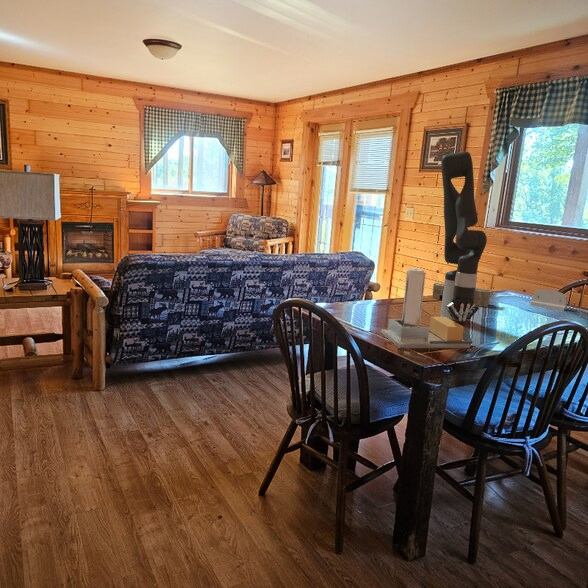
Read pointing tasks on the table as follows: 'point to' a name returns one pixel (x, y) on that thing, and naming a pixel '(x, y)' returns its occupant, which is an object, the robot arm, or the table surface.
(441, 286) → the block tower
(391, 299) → the table surface
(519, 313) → the table surface
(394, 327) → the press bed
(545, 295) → the hinge
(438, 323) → the block
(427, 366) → the table surface
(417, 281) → the air filter
